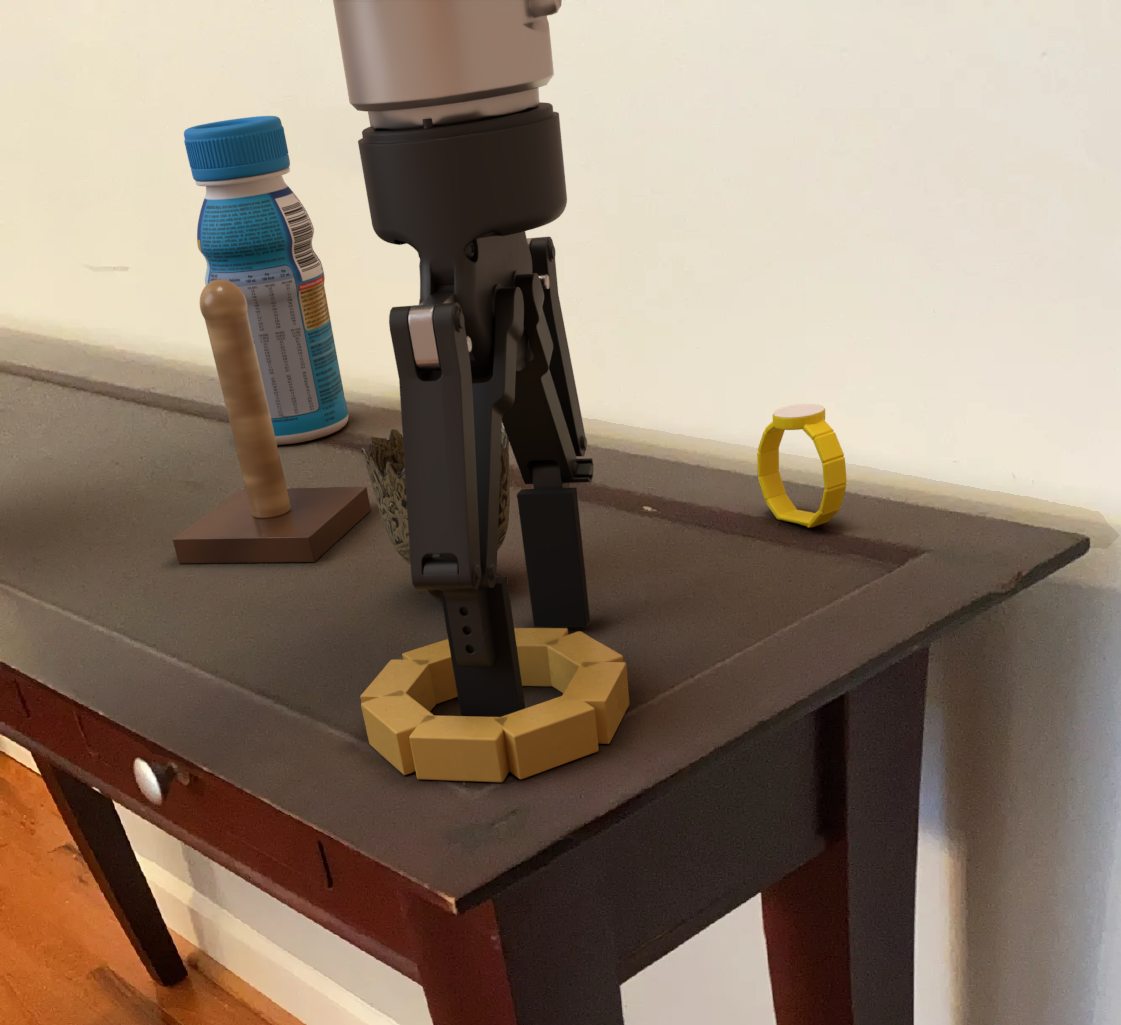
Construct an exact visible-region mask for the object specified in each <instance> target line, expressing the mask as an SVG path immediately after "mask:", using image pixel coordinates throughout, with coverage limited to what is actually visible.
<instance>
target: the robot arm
mask: <svg viewBox="0 0 1121 1025" xmlns="http://www.w3.org/2000/svg"><path fill="white" fill-rule="evenodd" d="M332 4H333V9H334V16H335V21H336V27H337V34H338V40H339V46H340V52H341V58H342V64H343V69H344V70H343V71H344V77H345V83H346V89H347V96H348V101H349V104H350V105H351V106H352V107H353V108H354V109H355V110H356V111H359V112H367V114H368V121H369V126H368V127H366V128H364V129H363V130H362V131H361V135H362V138H359V139H358V141H357V144H358V151H359V156H360V162H361V168H362V174H363V179H364V180H363V181H364V185H365V191H366V198H367V203H368V204H367V205H368V209H369V214H370V215H369V216H370V221H371V226H372V229H373V231H374V233H375V234H376V236H377V237H378V238H379V239H381V240H382V241H384V242H386V243H387V244H391V245H397V246H402V245H409V246H410V247H412V248H413V249H414V251H416V252H417V255H418V258H419V265H418V268H419V302H418V304H415V305H414V304H413V305H403V306H401V305H400V306H392V307H391V309H390V310H389V315H388V325H389V332H390V338H391V344H392V348H393V354H394V359H395V364H396V370H397V375H398V382H399V383H398V384H399V400H400V415H401V416H400V417H401V430H402V431H401V432H402V433H401V434H402V437H403V450H404V466H405V482H406V498H407V514H408V530H409V546H410V562H411V565H410V575H411V582H412V585H413V587H414V589H415V590H416V591H427V590H440V595H441V599H440V601H441V605H442V611H443V618H444V623H445V629H446V634H447V639H448V642H449V648H450V654H451V659H452V665H453V671H454V677H455V683H456V689H457V695H458V697H457V701H458V705H459V707H458V708H459V711H460V716H477V717H502V716H505V715H508V714H511V713H514V712H517V711H520V710H522V709H525V708H526V704H525V697H524V690H523V686H522V681H521V674H520V667H519V659H518V652H517V645H516V638H515V630H514V628H515V624H514V617H513V610H512V603H511V594H510V588H509V587H510V586H509V580H508V576H498V551H497V549H498V520H499V491H500V462H501V433H502V427H503V429H505V431H506V434H507V437H508V440H509V446H510V448H511V451H512V453H513V456H514V458H515V461H516V464H517V467H518V470H519V472H520V475H521V478H522V480H523V483H524V485H533V488H521V489H520V490H519V492H518V493H517V494H516V498H517V506H518V515H519V522H520V530H521V537H522V546H523V553H524V561H525V569H526V576H527V584H528V591H529V599H530V606H531V607H530V608H531V613H532V622H533V623H532V624H533V628H587V627H588V625H589V624H590V622H591V615H590V606H589V597H588V587H587V586H588V585H587V578H586V577H587V576H586V567H585V557H584V547H583V538H582V528H581V518H580V509H579V499H578V489H577V487H571V485H570V484H581V483H583V484H584V483H592V482H593V479H594V473H595V472H594V468H595V467H594V459H593V458H592V457H590V458H589V457H587V458H578V457H585V455H586V451H587V449H588V439H587V437H586V432H585V426H584V421H583V417H582V410H581V406H580V401H579V394H578V390H577V385H576V379H575V374H574V369H573V364H572V358H571V353H570V348H569V342H568V337H567V332H566V328H565V327H566V326H565V322H564V316H563V311H562V305H561V301H560V294H559V287H558V286H559V285H558V276H557V265H556V264H557V262H556V248H555V245H554V241H553V239H552V237H551V236H537V237H528V238H527V233H526V232H528V231H531V230H535V229H537V228H540V227H544V226H546V225H548V224H551V223H553V222H554V221H557V219H559V218H560V217H561V216H562V215H563V214H564V212H565V210H566V207H567V204H568V193H567V183H566V174H565V162H564V151H563V142H562V141H563V140H562V131H561V130H562V129H561V122H560V113H559V112H558V111H554V106H553V104H552V103H549V102H543V101H541V102H540V90H539V89H540V88H541V87H544V86H547V85H548V84H549V82H550V81H551V79H552V78H553V77H554V75H555V72H554V70H555V69H554V61H553V53H552V52H553V50H552V42H551V40H552V39H551V31H550V23H549V20H548V16H553V15H556V14H557V13H558V12H559V10H560V9H561V7H562V0H332ZM498 550H499V549H498ZM452 554H453V555H455V556H456V557H451V556H452Z"/></svg>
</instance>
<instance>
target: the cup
mask: <svg viewBox="0 0 1121 1025" xmlns="http://www.w3.org/2000/svg"><path fill="white" fill-rule="evenodd" d="M361 453H362V456H363V460H364V463H365V464H364V465H365V466H366V470H367V473H368V477H369V481H370V483H371V487H372V490H373V494H374V497H375V500H376V503H377V507H378V510H379V513H380V516H381V519H382V522H383V526H384V528H385V531H386V533H387V535H388V538H389V540H390V542H391V544H392V546H393V548H394V550H395V551H396V552H397V554H398V555H399V556H400V558H402V559H403V561H405V562H407V564H409V565H410V566H411V562H410V546H409V530H408V514H407V498H406V482H405V466H404V450H403V433H402V431H400V430H397V429H395V428H391V430H390V431H389V433H388V437H387V438H385V437H380V436H371V437H370V438H369V443H368V450H367V449H365V448H364V447H363V446H362V447H361ZM510 489H511V488H510V442H509V440H508V437H507V434H506V431H505V429H504V426H502V433H501V462H500V491H499V520H498V549H497V552H498V551H499V549H500V548H501V547H502V545H503V544H504V541H505V539H506V536H507V533H508V528H509V521H510V503H511V502H510V500H511V499H510V498H511V497H510V496H511V493H510V492H511V490H510ZM451 557H456V556H455V555H453V554H452V556H451ZM426 591H427V593H428V594H429V595H430V596H432V597H434V598H438V599H439V600H441V595H440V590H426Z"/></svg>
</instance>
